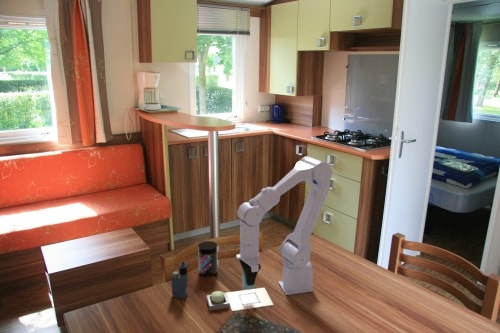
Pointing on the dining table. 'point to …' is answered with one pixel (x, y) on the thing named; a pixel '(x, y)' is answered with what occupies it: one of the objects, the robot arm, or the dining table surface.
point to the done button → (217, 297)
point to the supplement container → (207, 258)
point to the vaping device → (180, 282)
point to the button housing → (218, 306)
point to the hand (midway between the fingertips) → (249, 281)
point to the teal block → (245, 282)
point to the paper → (249, 299)
